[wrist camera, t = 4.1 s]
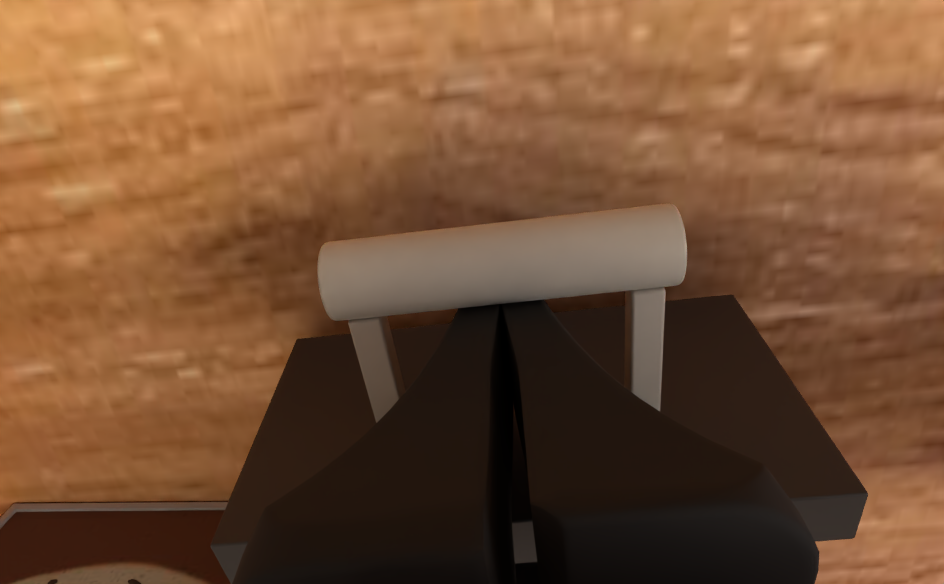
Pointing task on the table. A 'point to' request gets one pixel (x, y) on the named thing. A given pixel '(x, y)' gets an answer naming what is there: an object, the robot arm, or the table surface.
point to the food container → (110, 543)
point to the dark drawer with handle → (596, 330)
